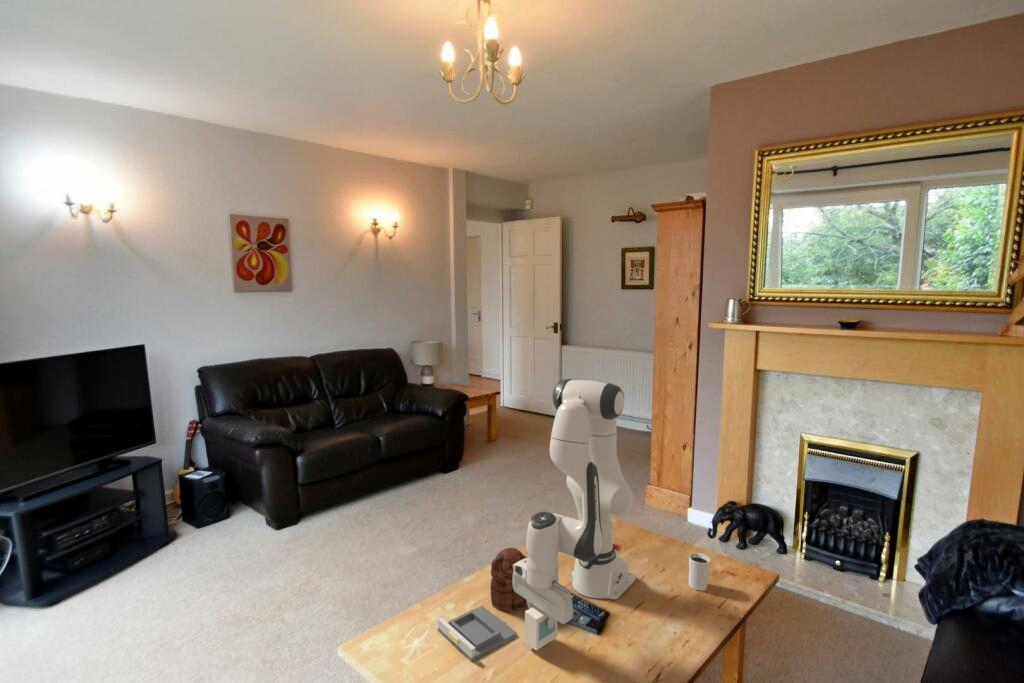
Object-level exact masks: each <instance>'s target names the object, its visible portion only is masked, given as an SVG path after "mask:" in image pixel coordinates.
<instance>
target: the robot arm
mask: <svg viewBox="0 0 1024 683" xmlns="http://www.w3.org/2000/svg"><path fill="white" fill-rule="evenodd" d="M552 404H553V405H554V408H555V409H556V413H555V416H554V420H553V425H552V430H551V433H550V441H549V456H550V457H549V458H550V459H551V462H552V463H553V464H554V466H555V467H556V468H558V470H559V471H561V472H562V473H564V474H565V475H566V480H565V482H566V486H567V489H568V490H569V491H570V493H571V495H572V498H573V501H574V504H575V507H576V512H577V515H578V519H575V518H572V517H569V516H566V515H562V514H559V513H555V512H549V511H539V512H537V513H534V514H533V515H532V516H531V517H530V518H529V520H528V525H527V532H526V541H525V542H526V543H525V545H526V546H525V549H526V553H527V556H526V557H527V558H525V559H522V560H520V561H518V562H517V563H515V564H513V570H514V572H513V589H514V591H515V592H516V593H517V594H519V595H520V596H522V597H523V598H525V599H526V600H527V604H528V605H527V607H528V609H530V608H532V607H534V606H536V607H538V608H539V609H541V610H542V611H544V612H545V613H547V614H548V617H549V619H547V620H545V623H546V624H545V626H547V627H548V628H552V627H553V625H554V620H555V619H556V620H557V622H559V623H560V624H561V625H564V624H566V623H569V622H570V621H571V620H572V619H573V618H574V607H573V599H572V594H571V593H570V591H569V590H568V588H567V587H566V586H564V585H562V584H561V583H559V569H560V568H559V567H560V566H559V564H560V562H559V559H558V553H562V554H565V555H568V556H571V557H574V559H575V562H574V567H573V568H574V569H573V570H572V571H571V577H572V582H571V584H572V585H571V586H572V587H573V589H574V590H575V591H576V592H577V593H579V594H580V595H582V596H585V597H587V598H591V599H608V600H617V599H618V600H619V598H620V597H621V595H623V594H624V593H625V592H626V591H627V590H628V588H630V587H631V585H633V583H635V581H636V576H635V575H634V574H633V573H632V572H631V571H629V565H628V562H627V561H626V560H625V559H624V558H623V557H621V555H619V554H617V552H620V551H621V550H622V546H621V544H618V543H616V542H615V543H614V530H615V526H614V522H613V519H612V517H611V516H610V515H614V516H623V515H625V514H626V513H627V512H629V511H630V509H631V507H632V505H633V501H634V500H633V499H634V495H633V491H632V489H631V487H630V486H629V485H628V483H627V482H626V480H625V477H624V476H623V473H622V470H621V467H620V466H621V465H620V463H619V458H618V451H617V449H618V447H617V446H618V445H617V438H618V437H617V435H618V434H617V431H618V428H617V418H618V417H619V416H620V415H621V414H622V413H623V409H624V406H625V394H624V392H623V390H622V389H621V387H620V386H618V385H617V384H614V383H610V382H608V383H605V382H602V381H597V380H591V379H588V380H585V379H572V378H566V379H561V380H559V381H558V382H557V383H556V385H555V386H554V388H553V390H552ZM616 551H617V552H616Z"/></svg>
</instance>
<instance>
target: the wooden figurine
mask: <svg viewBox="0 0 1024 683" xmlns="http://www.w3.org/2000/svg"><path fill="white" fill-rule="evenodd" d="M525 558H527V556H526V555H524V554H523V553H522V551H521V550H519V549H517V548H516V547H507V548H504V549H502V550H501V551H499V553H497V555H496V557H495V558H493V560H492V561H491V564H490V566H491V567H490V575H491V577H492V578H491V580H490V600H491V605H492V607H494V608H495V609H496V610H497V611H501V612H511V610H519V609H521V607H525V606H526V607H528V604H527V600H526V599H525V598H523V597H522V596H520V595H519V594H517V593H516V592H515V591H514V589H513V572H514V570H513V564H515V563H517V562H518V561H520V560H522V559H525Z"/></svg>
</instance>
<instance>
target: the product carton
mask: <svg viewBox="0 0 1024 683" xmlns="http://www.w3.org/2000/svg"><path fill="white" fill-rule="evenodd" d="M547 619H549V617H548V614H547V613H545V612H544V611H542V610H541V609H539V608H538V607H536V606H534V607H532V608H530V609H529V608H528V609H526V610H525V611H524V643H525V644H527V645H528V646H529V647H531V648H532V649H534V650H535V651H538V650H539V649H541V648H543V647H544V646H546V645H547V644H549V643H550V642H552V641H554V640H555V639H557V638H558V621H557V620H556V619H555V620H554V625H553V627H552V628H548V627H547V626H545V624H546V623H545V620H547Z"/></svg>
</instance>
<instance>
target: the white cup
mask: <svg viewBox="0 0 1024 683" xmlns="http://www.w3.org/2000/svg"><path fill="white" fill-rule="evenodd" d="M710 565H711V558H710V557H709V556H708V555H707V554H704V553H700V552H692V553H690V554H689V556H688V586H689V585H690V587H692V588H694V589H697V590H704V589H706V588H707V589H708V582H709V576H710V575H709V573H710ZM690 587H689V588H690ZM692 588H691V589H692ZM707 589H706V590H707Z"/></svg>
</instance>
